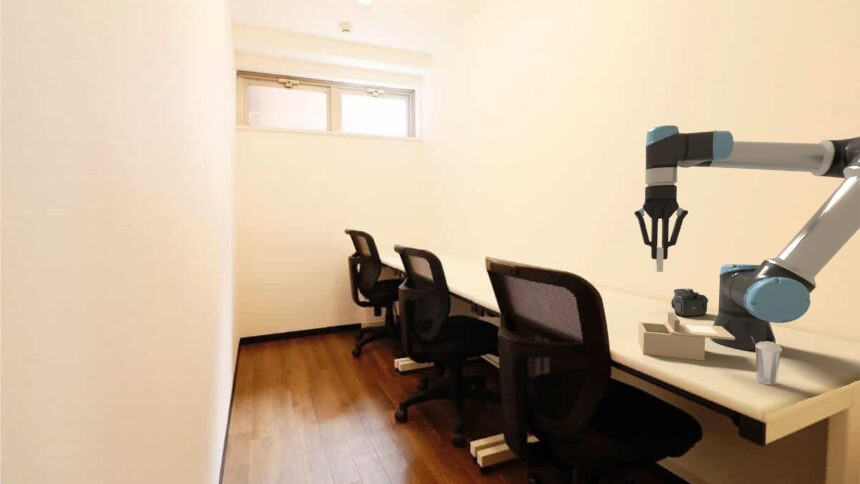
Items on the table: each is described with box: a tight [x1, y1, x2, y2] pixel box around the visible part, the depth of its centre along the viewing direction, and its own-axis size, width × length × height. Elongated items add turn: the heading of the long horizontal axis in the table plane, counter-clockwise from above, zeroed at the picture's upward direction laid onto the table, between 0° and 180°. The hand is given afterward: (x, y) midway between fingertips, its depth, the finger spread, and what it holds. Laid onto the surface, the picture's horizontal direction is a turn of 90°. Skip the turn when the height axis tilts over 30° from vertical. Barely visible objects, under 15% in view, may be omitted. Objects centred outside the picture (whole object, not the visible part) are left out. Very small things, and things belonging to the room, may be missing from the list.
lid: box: [662, 312, 735, 340], centre depth 108 cm, size 14×11×4 cm
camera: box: [670, 288, 709, 317], centre depth 150 cm, size 13×10×10 cm
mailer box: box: [637, 321, 706, 361], centre depth 111 cm, size 14×11×6 cm
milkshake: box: [751, 336, 783, 386], centre depth 90 cm, size 4×5×10 cm
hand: (659, 271), depth 111 cm, fingers closed
